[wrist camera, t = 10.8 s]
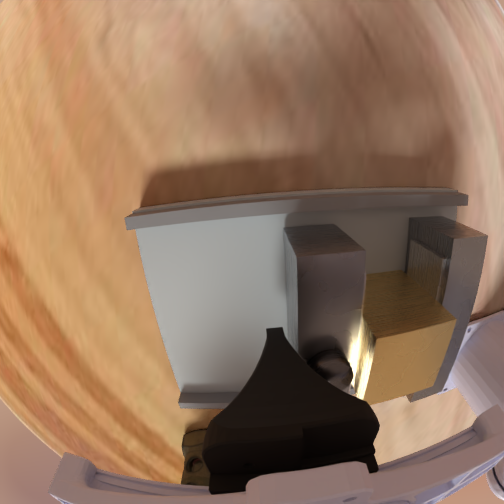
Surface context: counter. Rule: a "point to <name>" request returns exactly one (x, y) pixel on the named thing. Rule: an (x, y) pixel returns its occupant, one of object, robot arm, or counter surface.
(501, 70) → the counter surface
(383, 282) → the block
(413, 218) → the fixed jaw
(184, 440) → the grenade
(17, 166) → the counter surface
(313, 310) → the bar
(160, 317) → the board
